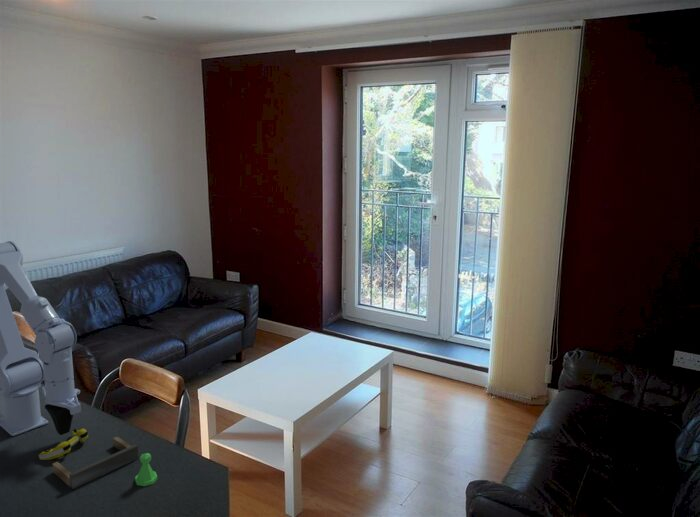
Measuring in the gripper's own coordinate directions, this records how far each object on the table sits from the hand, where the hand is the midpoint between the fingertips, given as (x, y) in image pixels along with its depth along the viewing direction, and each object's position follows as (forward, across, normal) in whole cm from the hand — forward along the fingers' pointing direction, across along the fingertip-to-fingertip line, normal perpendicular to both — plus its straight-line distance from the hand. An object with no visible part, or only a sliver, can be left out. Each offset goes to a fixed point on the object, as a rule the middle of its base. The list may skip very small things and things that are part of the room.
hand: (63, 432), depth 120 cm
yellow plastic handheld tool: (+2, -4, +1) cm, 5 cm away
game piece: (+2, -27, -4) cm, 27 cm away
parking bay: (+2, -14, 0) cm, 14 cm away
